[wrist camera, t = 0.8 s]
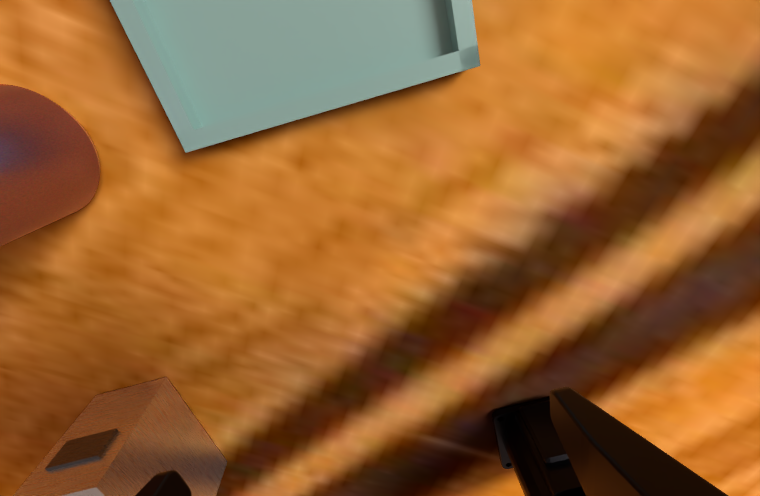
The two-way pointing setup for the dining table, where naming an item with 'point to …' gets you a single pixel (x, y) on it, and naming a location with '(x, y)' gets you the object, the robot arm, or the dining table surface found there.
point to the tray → (288, 56)
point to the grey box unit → (129, 447)
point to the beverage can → (41, 163)
